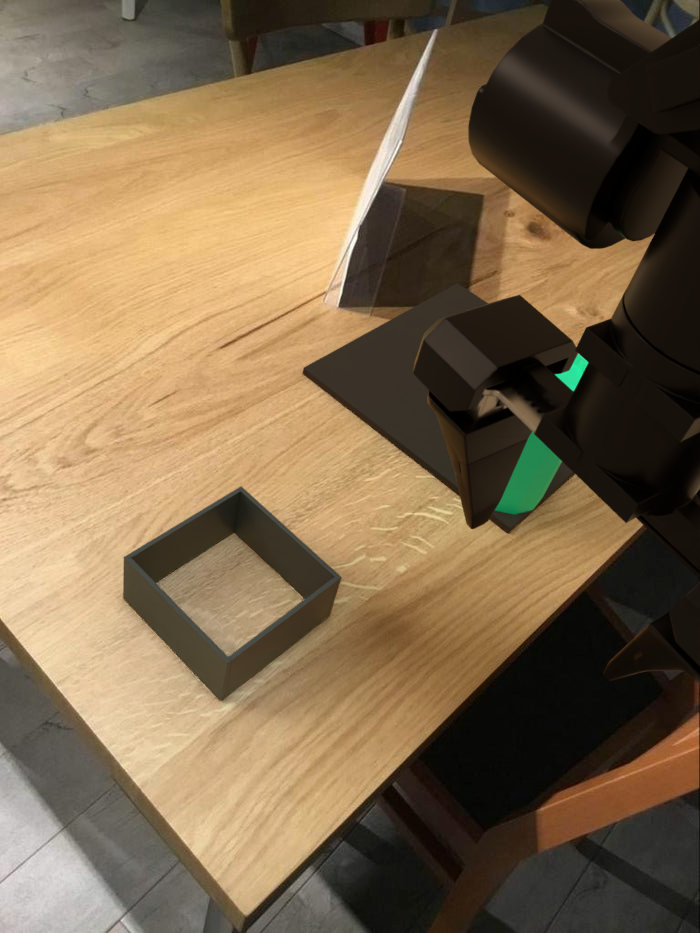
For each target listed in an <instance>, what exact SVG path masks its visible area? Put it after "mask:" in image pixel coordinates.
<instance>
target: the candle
mask: <svg viewBox="0 0 700 933" xmlns="http://www.w3.org/2000/svg"><path fill="white" fill-rule="evenodd" d="M588 363H589V362H588V361H587V360H585V359H584V358H583V357H582V356H581V355H580V354H579V353H578V355H577V357H576V359H575V361H574V363H573V365H572V367H571V369H570V370H569V371H566V372H564V373H561V374H555V375H556V376H557V377H558V378H559V379H560V380H561V381H562V382H564V383H565V384H566V385H567V386H568V387H569V388H570V389H571V390H572V391H573V392H574V390H575V388H576V386H577V384H578V382H579V380H580V378H581V376H582V374H583V372H584V370H585V368H586V366H587V365H588ZM561 462H562V461H561V460H560V459H559V458H558V457H557V456H556V455H555V454H554V453H553V452H552V451H551V450H550V449H549V448H548V447H547V446H546V445H545V444H544V443H543V442H542V441H541V440H540V439H539V438H538V437H537V436H536V435H535V434H534V433H533V432H532V433H531V434H530V436H529V438H528V440H527V443H526V445H525V447H524V449H523V451H522V454H521V456H520V458H519V460H518V463H517V465H516V467H515V469H514V472H513V474H512V476H511V478H510V481H509V483H508V485H507V487H506V490H505V492H504V494H503V496H502V499H501V501H500V502H499V504H498V506H497V507H496V509H495V511H500V512H504V513H509V514H514V515H515V514H519V513H523V512H527V511H531V510H533V509H534V508H535V507H536V505H537V504H538V503H539V502H540V500H541V499H542V498H543V496H544V494H545V492H546V490H547V489H548V487H549V485H550V483H551V481H552V479H553V477H554V475H555V474H556V472H557V470H558V468H559V466H560V464H561Z"/></svg>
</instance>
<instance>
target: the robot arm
mask: <svg viewBox="0 0 700 933" xmlns="http://www.w3.org/2000/svg"><path fill="white" fill-rule="evenodd" d="M467 125H468V127H467V128H468V129H467V131H468V132H467V136H468V144H469V148H470V151H471V155H472V156H473V158H474V159H475V161H477V163H478V164H479V165H480V166H481V167H483V168H484V169H485V170H487V171H488V172H489V173H490V174H492V176H494V177H496V178H497V179H498V180H499V181H500V182H501V183H503V184H505V185H506V186H507V187H508V188H509V189H511V190H512V191H513V192H515V193H516V194H517V195H518V196H519V197H521V198H522V199H523V200H524V201H526V202H527V203H529V204H530V205H531V206H532V207H533V208H534V209H536V210H537V211H539V212H540V213H541V214H542V215H544V216H545V217H546V218H547V219H549V220H550V221H551V222H553V223H554V224H555V225H556V226H557V227H558V228H560V229H561V230H563V231H564V232H565V233H566V234H567V235H569V236H570V237H572V238H573V239H574V240H575V241H577V243H579V244H580V245H582V246H584V247H586V248H588V249H589V250H602V249H607V248H609V247H611V246H614V245H617V244H618V243H620V242H622V241H624V240H627V241H631V242H640V241H643V240H645V239H648V238H650V237H651V236H652V237H651V240H650V242H649V244H648V246H647V248H646V250H645V252H644V253H643V256H642V257H641V259H640V261H639V263H638V265H637V267H636V269H635V271H634V273H633V276H632V277H631V279H630V280H629V283H628V285H627V287H626V289H624V292H623V294H622V296H621V298H620V300H619V302H618V303H617V306H616V308H615V310H614V311H613V314H612V316H611V318H608V319H606V320H603V321H600V322H597V323H594V324H592V325H589V326H586V327H585V329H584V331H583V333H582V335H581V337H580V339H579V341H578V343H577V345H576V344H575V342H574V340H573V339H571V338H570V336H568V335H567V334H566V333H564V332H563V330H562V329H560V328H559V327H558V326H557V325H555V323H553V322H552V321H551V320H549V319H548V318H547V317H546V316H545V314H543V313H542V312H540V310H538V309H537V308H536V307H535V306H533V304H531V303H530V302H529V301H527V300H526V298H524V297H523V296H522V295H521V294H517V295H513V296H509V297H505V298H502V299H499V300H495V301H492V302H488V304H485V305H482V306H479V307H476V308H473V309H469V310H466V311H463V312H460V313H456V314H453V315H450V316H447V317H444V318H440V319H438V320H437V321H436V322H435V323H434V324H433V325H432V326H431V327H430V328H429V329H428V330H427V331H426V332H425V333H424V335H423V338H422V341H421V344H420V347H419V350H418V353H417V357H416V360H415V363H414V369H413V374H414V375H415V376H416V377H417V378H418V379H419V380H420V381H421V382H422V383H423V384H424V385H425V386H426V388H427V389H428V390H429V392H428V396H427V402H428V404H429V406H430V407H431V408H432V409H433V410H434V411H435V413H436V415H437V417H438V421H439V424H440V427H441V430H442V433H443V436H444V439H445V443H446V446H447V449H448V452H449V455H450V459H451V462H452V465H453V469H454V474H455V477H456V481H457V485H458V490H459V494H460V495H459V497H460V498H459V499H460V502H461V506H462V511H463V515H464V520H465V523H466V525H467V526H468V528H469V529H470V530H475V529H477V528H479V527H481V526H484V525H485V524H486V523H487V522H488V521H489V520H490V519H489V518H490V517H491V515H492V514H493V512H494V511H495V509H496V507H497V506H498V504H499V502H500V501H501V499H502V496H503V494H504V492H505V490H506V487H507V485H508V483H509V481H510V478H511V476H512V474H513V472H514V469H515V467H516V465H517V463H518V460H519V458H520V456H521V454H522V451H523V449H524V447H525V445H526V443H527V440H528V438H529V436H530V434H531V433H532V432H533V433H534V434H535V435H536V436H537V437H538V438H539V439H540V440H541V441H542V442H543V443H544V444H545V445H546V446H547V447H548V448H549V449H550V450H551V451H552V452H553V453H554V454H555V455H556V456H557V457H558V458H559V459H560V460H561V461H562V462H563V463H564V464H565V465H566V466H568V467H569V468H570V469H571V470H572V471H573V472H574V473H575V474H574V475H575V476H577V477H578V478H579V479H580V481H581V482H582V483H584V484H585V485H586V486H587V487H588V488H589V489H590V490H591V491H592V492H593V493H594V494H595V496H597V497H598V498H599V499H600V500H601V501H602V502H603V503H605V505H606V506H607V507H609V509H611V510H612V512H614V513H615V515H617V516H618V517H619V519H621V520H622V521H623V522H624V523H625V524H627V523H629V522H631V521H633V520H635V519H636V520H637V521H638V522H639V523H641V525H643V526H644V527H645V528H646V529H647V530H648V531H649V532H650V533H651V534H652V535H653V536H654V537H655V538H656V539H657V540H658V541H659V542H660V543H661V544H662V545H664V546H665V547H666V548H667V549H668V550H669V552H670V553H672V555H674V557H676V558H677V559H678V560H679V561H680V562H681V563H682V564H683V565H684V566H685V567H687V569H688V570H690V571H691V572H692V573H693V574H694V575H695V576H696V578H698V579H699V581H697V582H696V583H695V584H694V585H693V586H692V587H691V588H690V589H689V590H687V591H686V592H685V593H684V594H683V595H682V596H681V597H680V599H678V601H677V602H676V603H675V605H674V606H673V607H672V608H671V609H669V610H668V611H666V612H664V613H663V614H662V615H660V616H659V617H657V618H655V619H654V620H652V621H650V622H649V623H648V624H647V625H646V626H645V627H644V628H643V629H642V630H641V631H639V633H638V634H637V635H636V636H634V637H633V639H631V641H629V642H628V643H627V644H626V645H625V646H624V647H623V648H622V649H620V651H618V652H617V653H616V654H615V655H614V656H613V657H612V658H611V659H610V660H609V661H608V663H607V664H606V667H605V669H604V671H603V672H602V675H603V677H604V678H605V679H607V681H609V682H611V681H614V680H618V679H621V678H626V677H629V676H633V675H637V674H641V673H645V672H684V673H685V674H687V675H688V676H690V678H692V679H693V681H695V682H696V683H697V684H698V685H700V496H699V494H697V493H698V492H699V491H700V18H699V19H698V20H696V21H695V22H694V23H692V24H690V25H689V26H688V27H686V28H685V29H683V30H682V31H680V32H679V33H677V34H676V35H674V36H673V37H672V36H669V35H668V34H666V33H664V32H663V31H662V30H659V29H658V28H656V27H655V26H652V25H651V24H649V23H647V22H646V21H644V20H642V19H640V18H639V17H638V16H636V15H635V14H634V13H633V12H632V11H631V10H630V9H629V8H628V7H627V5H626V4H625V3H624V2H623V1H622V0H549V2H548V5H547V9H546V11H545V14H544V16H543V20H542V23H540V24H538V25H536V26H535V27H534V28H533V29H532V30H530V31H528V32H527V33H526V34H524V35H523V36H522V37H521V38H519V40H518V41H517V42H515V44H514V45H513V46H512V47H511V48H510V49H509V50H507V52H506V53H505V54H504V56H503V57H502V58H501V60H500V61H499V62H498V64H497V65H496V67H495V68H494V69H493V71H492V73H491V74H490V76H489V78H488V80H487V82H486V83H485V84H483V85H481V86H480V87H479V88H478V89H477V91H476V93H475V97H474V99H473V104H472V106H471V110H470V115H469V120H468V124H467ZM578 354H579V355H581V356H582V357H583V358H584V359H585V360H587V361H588V362H589V363H588V365H587V366H586V368H585V370H584V372H583V374H582V376H581V378H580V380H579V382H578V384H577V386H576V388H575V390H574V392H573V391H572V390H571V389H570V388H569V387H568V386H567V385H566V384H565V383H564V382H562V381H561V380H560V379H559V378H558V377H557V376H556V375H555V374H561V373H564V372H566V371H569V370H570V369H571V367H572V365H573V363H574V361H575V359H576V357H577V355H578Z"/></svg>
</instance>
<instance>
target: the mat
mask: <svg viewBox="0 0 700 933" xmlns="http://www.w3.org/2000/svg"><path fill="white" fill-rule="evenodd" d="M485 304H489V302H487V301H485V300H484V299H483V298H481V297H480V296H478V295H477V294H475V293H473V292H472V291H470V290H469V289H468V288H466V287H464V286H463V285H461V284H460V283H459V282H457V283H455V284H453V285H451V286H449V287H448V288H446V289H444V290H442V291H441V292H438V293H437V294H435V295H433V296H432V297H430V298H429V297H428V298H427V299H426V300H424V301H422V302H420V303H419V304H417V305H415V306H412V307H411V308H410V309H408V310H406V311H403V312H402V313H401V314H399V315H397V316H396V317H393V318H391V319H390V320H387V321H386V322H384V323H382V324H380V325H378V326H376V327H375V328H373V329H371V330H370V331H367V332H366V333H364V334H362V335H361V336H359V337H357V338H355V339H353V340H352V341H349V342H347V343H346V344H344V345H342V346H340V347H339V348H337V349H335V350H333V351H330V352H329V353H328V354H325V355H324V356H322V357H320V358H318V359H317V360H315V361H313V362H311V363H310V364H308V365H306V366H304V367H303V369H302V374H303V375H304V376H305V377H307V378H308V379H309V380H311V381H312V382H313V383H314V384H316V385H317V386H318V387H320V388H321V389H322V390H323V391H325V393H327V394H329V395H330V396H331V397H333V398H334V399H335V400H336V401H338V402H339V403H340V404H341V405H342V406H344V407H345V408H346V409H347V410H349V411H350V412H352V413H353V414H354V415H355V416H357V417H358V418H359V419H361V420H362V421H363V422H364V423H366V424H367V425H369V426H370V427H371V428H372V429H373V430H375V432H377V433H379V434H380V435H381V436H382V437H384V438H385V439H386V440H388V441H389V443H391V444H393V445H394V446H396V447H397V448H398V449H399V450H401V451H402V452H403V453H404V454H406V456H408V457H409V458H411V459H412V461H414V462H416V463H417V464H418V465H419V466H421V467H422V468H424V469H425V470H426V471H427V472H429V473H430V474H431V475H432V476H434V477H435V478H437V479H438V480H439V481H440V482H442V483H443V484H444V485H445V486H447V487H448V488H449V489H451V490H452V491H453V492H454V493H456V494H457V495H458V496H460V494H459V490H458V485H457V481H456V477H455V474H454V469H453V465H452V462H451V459H450V455H449V452H448V449H447V446H446V443H445V439H444V436H443V433H442V430H441V427H440V424H439V421H438V417H437V415H436V413H435V411H434V410H433V409H432V408H431V407H430V406H429V404H428V402H427V396H428V392H429V390H428V389H427V388H426V386H425V385H424V384H423V383H422V382H421V381H420V380H419V379H418V378H417V377H416V376H415V375H414V374H413V369H414V363H415V360H416V357H417V353H418V350H419V347H420V344H421V341H422V338H423V335H424V333H425V332H426V331H427V330H428V329H429V328H430V327H431V326H432V325H433V324H434V323H435V322H436V321H437V320H438V319H440V318H444V317H447V316H450V315H453V314H456V313H460V312H463V311H466V310H469V309H473V308H476V307H479V306H482V305H485ZM574 475H576V474H575V473H574V472H573V471H572V470H571V469H570V468H569V467H568V466H566V465H565V464H564V463H563V462H561V464H560V466H559V468H558V470H557V472H556V474H555V475H554V477H553V479H552V481H551V483H550V485H549V487H548V489H547V490H546V492H545V494H544V496H543V498H542V499H541V500H540V502H539V503H538V504H537V505H536V507H535V508H534V509H533V510H531V511H527V512H523V513H519V514H515V515H514V514H509V513H504V512H500V511H494V512H493V514H492V515H491V517H490V518H489V520H490V521H491V522H493V523H494V524H495V525H497V526H498V527H499V528H501V529H502V530H503V531H504V532H506V533H508V534H509V533H511V532H512V531H513V530H514V529H515V528H516V527H517V526H518V525H519V524H521V523H522V522H523V521H524V520H525V519H526V518H527V517H529V516H530V515H531V514H532V513H533V512H534V511H535V510H536V509H537V508H538V507H540V506H541V505H542V504H543V503H544V502H546V500H548V498H550V497H551V496H552V495H553V494H554V493H555V492H556V491H558V490H559V489H560V488H561V487H562V486H563V485H564V484H565V483H566V482H568V481H569V480H570V479H571V478H573V476H574Z"/></svg>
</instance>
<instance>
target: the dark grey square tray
mask: <svg viewBox="0 0 700 933" xmlns="http://www.w3.org/2000/svg"><path fill="white" fill-rule="evenodd" d="M233 533H235V534H236V536H238V537H239V538H240V539H241V540H242V541H243V542H244V543H246V545H248V546H249V548H251V549H252V550H253V551H254V552H255V553H256V554H257V555H258V556H259V557H260V558H261V559H262V560H263V561H264V562H265V563H267V564H268V565H269V566H270V567H271V568H272V569H273V570H274V571H275V572H276V573H277V574H278V575H279V576H281V577H282V579H284V580H285V581H286V582H287V583H288V584H289V585H290V586H291V587H292V588H293V589H294V590H296V592H298V593H299V595H301V596H302V597H303V598H304V599H303V600H301V601H300V602H299V603H298V604H297V605H295V606H294V607H292V608H291V609H290V610H289V611H287V612H286V613H284V614H283V615H282V616H281V617H279V618H278V619H277V620H275V621H274V622H272V623H271V624H270V625H269V626H267V627H266V628H265V629H263V630H262V631H261V632H259V633H257V635H255V636H254V637H253V638H251V639H250V640H248V641H247V642H246V643H245V644H243V645H242V646H240V647H239V648H238V649H236V650H235V651H234V652H232V653H231V654H230V655H229V656H228V655H227V654H226V653H225V652H224V651H223V650H222V649H221V648H220V647H219V646H218V645H217V644H216V643H215V642H214V640H212V639H211V637H209V635H207V633H206V632H204V630H202V629H201V628H200V626H199V625H198V624H196V622H195V621H194V620H193V619H192V618H191V617H190V616H189V615H188V614H187V613H186V612H185V611H184V610H183V609H182V608H181V607H180V606H179V605H178V603H176V602H175V601H174V600H173V599H172V598H171V597H170V596H169V594H167V592H165V591H164V590H163V589H162V587H161V586H159V585H158V584H157V582H159V581H160V580H162V579H164V578H165V577H166V576H168V575H170V574H171V573H172V572H174V571H176V570H177V569H179V568H181V567H182V566H184V565H185V564H187V563H188V562H190V561H192V560H193V559H195V558H196V557H198V556H199V555H201V554H203V553H204V552H206V551H207V550H209V549H210V548H212V547H213V546H215V545H216V544H218V543H220V542H221V541H222V540H224V539H226V538H227V537H229V536H230V535H232V534H233ZM122 576H123V580H122V581H123V582H122V584H123V586H122V588H123V589H122V590H123V591H122V598H123V600H124V601H125V602H126V603H127V604H128V605H129V606H130V607H131V608H132V609H133V610H134V611H135V612H136V613H137V615H139V617H140V618H141V619H142V620H143V621H144V622H145V623H146V624H147V625H148V626H149V628H151V629H152V630H153V631H154V633H155V634H157V636H158V637H159V638H160V639H161V640H162V641H163V642H164V643H165V644H166V645H167V646H168V647H169V648H170V649H171V651H173V652H174V654H175V655H176V656H177V657H178V658H179V659H180V660H181V661H182V662H183V663H184V664H185V665H186V666H187V667H188V668H189V670H191V672H192V673H193V674H194V675H195V676H196V677H197V678H198V679H199V680H200V681H201V683H203V684H204V686H206V687H207V688H208V690H209V691H210V692H211V693H212V694H213V695H214V696H215V697H216V698H217V700H219V701H220V702H222V701H223V700H225V698H227V697H228V696H230V695H231V694H232V693H233V692H235V691H236V690H237V689H239V688H240V687H241V686H242V685H244V684H245V683H246V682H247V681H249V680H250V679H251V678H252V677H254V676H255V675H256V674H258V673H259V672H260V671H261V670H262V669H264V668H265V667H266V666H268V665H269V664H270V663H271V662H273V661H274V660H275V659H277V658H278V657H280V656H281V655H282V654H283V653H284V652H286V651H287V650H288V649H290V648H291V647H292V646H293V645H295V644H296V643H297V642H299V641H300V640H301V639H302V638H304V637H305V636H306V635H307V634H309V633H310V632H311V631H312V630H313V629H315V628H317V627H318V626H319V625H320V624H321V623H323V622H324V621H325V620H327V619H328V618H329V617H330V615H331V613H332V609H333V607H334V604H335V600H336V597H337V594H338V591H339V588H340V584H341V581H342V578H343V577H342V576H341V575H340V574H339V573H338V572H337V571H336V570H335V569H333V568H332V567H331V566H330V565H329V564H328V563H327V562H326V561H325V560H323V559H322V557H320V556H319V555H318V554H317V553H316V552H315V551H314V550H313V549H312V548H310V547H309V545H307V544H306V543H305V542H304V541H303V540H301V539H300V538H299V537H298V536H297V535H296V534H295V533H293V531H292V530H291V529H289V528H288V527H287V526H286V525H285V524H284V523H283V522H281V521H280V520H279V519H278V517H276V516H275V515H274V514H273V513H272V512H270V511H269V509H267V508H266V507H265V506H264V505H263V504H262V503H260V502H259V501H258V499H256V498H255V497H254V496H253V495H252V494H250V492H248V490H246V489H245V488H244V487H243V486H239V487H237V488H236V489H234V490H232V491H230V492H229V493H227V494H225V495H224V496H222V497H221V498H218V500H216V501H214V502H212V503H211V504H209V505H208V506H206V507H204V508H202V509H201V510H199V511H197V512H196V513H194V514H192V515H191V516H189V517H187V518H186V519H184V520H182V521H181V522H179V523H177V524H176V525H174V526H173V527H171V528H169V529H168V530H166V531H165V532H162V533H161V534H159V535H158V536H156V537H155V538H153V539H151V540H149V541H147V542H146V543H144V544H143V545H141V546H140V547H137V548H136V549H135V550H133V551H131V552H130V553H128V554H126V555H125V556H123V574H122Z"/></svg>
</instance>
